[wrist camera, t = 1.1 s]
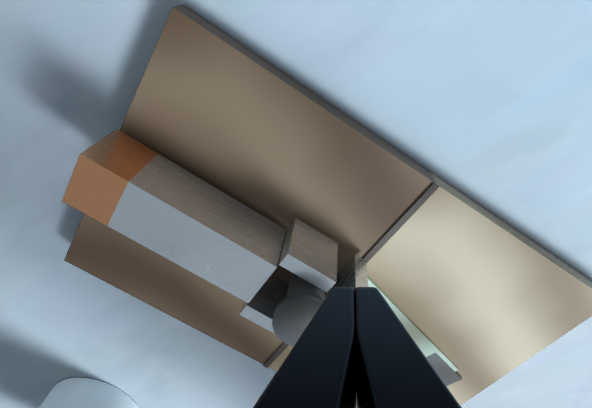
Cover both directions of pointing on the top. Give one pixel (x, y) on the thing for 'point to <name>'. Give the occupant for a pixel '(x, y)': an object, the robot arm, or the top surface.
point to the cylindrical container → (86, 395)
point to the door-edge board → (330, 218)
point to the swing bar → (203, 226)
